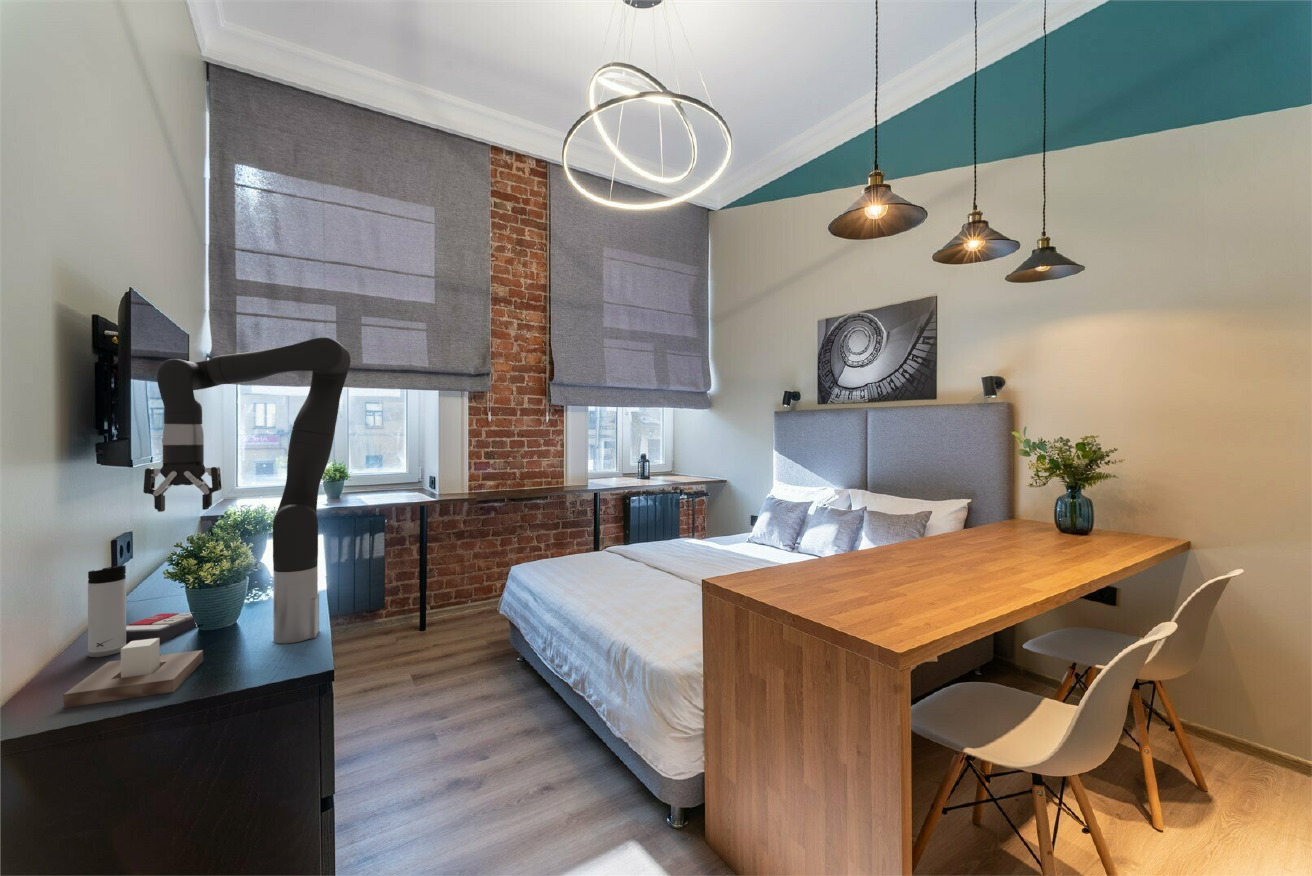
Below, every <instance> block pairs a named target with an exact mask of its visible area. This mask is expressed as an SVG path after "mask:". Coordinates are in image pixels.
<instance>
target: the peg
mask: <svg viewBox="0 0 1312 876" xmlns="http://www.w3.org/2000/svg"><path fill="white" fill-rule="evenodd" d="M160 645H161V644H160V638H154V639H145V640H137V641H131V642H130V643H128V644H127V645H125V646H124V647H123V648H121V652H120V660H121V678H125V677H132V676H140V675H147V674H153V673H155V672H156V671H157V670H158V669H159V668H160Z"/></svg>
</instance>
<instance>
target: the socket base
mask: <svg viewBox="0 0 1312 876" xmlns="http://www.w3.org/2000/svg"><path fill="white" fill-rule="evenodd" d="M203 662H204V650H203V649H200V650H192V651H186V652H185V651H184V652H174V653H168V654H161V655H160V668H159V669H158V670H157V671H156V672H155V673H153V674H147V675H140V676H132V677H125V678H121V659H120V660H119V659H118V660H113V661H112V660H111V661H108V662H106V663H105V664H103V665H101V667H99V668H98V669H96V670H95V671H94V672H93V673H91V674H90V675H88V676H87V677H85V678H84V679H82V681H80V682H78V683H77V684H75V686H73V687H71V688H70V689H69V690H68V691H66V692H65V693H63V709H65V708H72V707H79V706H86V705H93V704H100V703H107V702H114V701H120V700H121V701H122V700H128V699H133V698H142V697H148V696H155V695H161V694H168V693H174V692H175V691H177V689H178V688H179V687H180V686H181V685H183V683H184V682H185V681H186V680H187V679H188V678H189V676H191V674H192V673H193V672H194V671H195V670H196V669H197V668H198V667H200V665H201V664H202V663H203Z"/></svg>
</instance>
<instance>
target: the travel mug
mask: <svg viewBox="0 0 1312 876" xmlns="http://www.w3.org/2000/svg"><path fill="white" fill-rule="evenodd" d="M126 569H127V568H126V564H125V565H116V566H115V565H114V566H109V567H104V568H102V569H98V570H89V571H88V572H87V648H88V649H87V655H88V657H89V658H102V657H107V656H112V655H113V656H114V655H116V654H119V653H121V648H123V647H124V646H125V645H126V626H127V577H126V571H127V570H126Z"/></svg>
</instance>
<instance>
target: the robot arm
mask: <svg viewBox="0 0 1312 876" xmlns="http://www.w3.org/2000/svg"><path fill="white" fill-rule="evenodd" d="M350 355H351V354H350V352H349V351H348V349H347V348H346V346H343V345H342V344H341V343H340V342H339V341H337V340H335V339H333V338H330V337H328V336H327V337H326V336H325V337H324V336H319V337H315V338H309V339H307V340H303V341H300V342H295V343H293V344H287V345H284V346H281V347H280V346H278V347H275V348H274V347H273V348H270V349H263V350H256V351H248V352H239V353H230V354H223V355H215V356H213V357H210V358H209V359H207V360H200V361H188V360H184V359H180V358H170V359H166V360H164V361H163V362H162V363H161V364H159V367H158V370H157V374H156V381H157V386H158V390H159V393H160V398H161V401H162V403H163V407H164V410H163V428H162V429H163V431H162V439H161V443H162V467H161V468H155V467H147V468H145V469H144V475H143V476H144V478H143V479H144V480H143V493H144V494H147V495H152V496H153V499H154V500H153V501H154V503H153V504H154V506H153V507H154V509H155V510H157V512H158V513H159V512H160V513H161V512H162V513H163V512H165V510H166V495H164V494H165V493H166V492H167V491H168V489H169V488H171V487H172V486H175V487H176V486H177V487H178V486H183V485H184V486H193V485H194V486H195V487H196V488H198V490H200V492H202V493H203V494H202V501H201V502H202V503H201V504H202V510H203V511H206V510H209V509H210V508H211V507H212V505H213V493H216V492H218V491H221V490H222V477H221V476H222V475H221V467H220V466H212V467H206V466H205V463H204V462H205V459H204V458H205V457H204V456H205V452H204V451H205V450H204V449H205V445H204V441H205V440H204V429H203V408H202V407H203V406H202V404H201V402H199V401H198V400H197V399H196V397H195V392H194V391H200V390H205V389H209V388H214V387H217V386H221V385H229V384H230V385H231V384H237V383H246V382H253V381H257V380H261V379H264V378H267V377H270V376H271V377H272V376H273V375H277V374H283V373H287V372H304V371H305V372H311V373H312V375H311V380H310V388H309V392H308V395H307V397H306V399H305V401H304V402H303V405H302V406H301V408H300V409H299V411H298V413H297V415H296V416H295V419H294V421H293V425H292V429H291V433H290V438H289V443H288V448H287V449H288V451H287V462H286V463H287V464H286V480H285V486H284V489H283V493H282V497H281V500H280V502H279V505H278V508H277V510H276V513H275V514H274V517H273V522H272V561H273V562H272V563H273V565H272V566H273V568H272V569H273V570H272V571H273V575H272V576H273V584H272V585H273V590H272V592H273V600H272V601H273V603H272V605H273V609H272V610H273V616H272V617H273V621H272V622H273V632H272V633H273V642H274V643H277V644H291V643H292V644H294V643H299V642H302V641H306V640H309V639H310V640H311V639H315V638H316V637H318V636H317V635H318V634H319V632H320V594H319V593H318V591H319V589H318V587H319V586H318V585H319V584H318V581H319V580H318V579H319V575H318V574H319V573H318V570H319V569H318V568H319V567H318V565H319V564H318V562H319V561H318V560H319V519H318V518H319V517H318V516H317V515H318V513H317V511H318V510H317V509H318V499H319V498H318V497H319V491H320V490H319V488H320V483H321V481H322V478H323V476H324V474H325V471H326V468H327V466H328V463H329V459H330V458H331V457H330V456H331V452H332V448H333V444H334V438H335V432H336V426H337V421H338V415H339V409H340V408H339V407H340V402H341V401H340V400H341V397H342V392H343V389H344V385H345V382H346V379H347V376H348V374H349V370H350V367H351V361H352V360H351V356H350ZM206 473H207V474H208V476H210V477H211V478H210V479H211V487H210V486H209V484H208V483H207V482H206V481H205V479H203V478H202V477H203V476H204V475H205V474H206ZM160 474H161V475H162V476H163V477H164V480H162V482H161V483H159V486H158V487H157V488H155V487H156V478H157V477H158V476H159V475H160Z"/></svg>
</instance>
